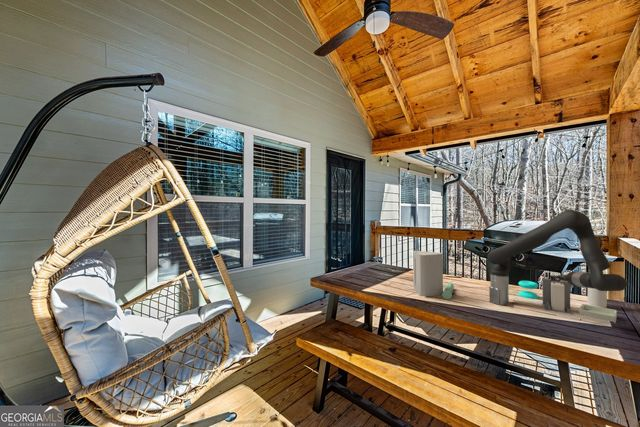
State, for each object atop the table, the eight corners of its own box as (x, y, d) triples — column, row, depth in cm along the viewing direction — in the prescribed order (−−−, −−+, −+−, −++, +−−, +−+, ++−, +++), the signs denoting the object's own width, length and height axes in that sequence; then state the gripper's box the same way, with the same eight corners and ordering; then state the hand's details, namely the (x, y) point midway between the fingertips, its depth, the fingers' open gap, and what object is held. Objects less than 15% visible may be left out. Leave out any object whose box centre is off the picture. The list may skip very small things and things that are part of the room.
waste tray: (615, 324, 131) (615, 317, 131) (578, 316, 141) (578, 309, 141) (616, 316, 140) (616, 310, 140) (582, 309, 150) (582, 303, 150)
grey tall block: (564, 311, 146) (564, 282, 146) (552, 309, 149) (552, 281, 148) (562, 307, 151) (562, 279, 150) (551, 305, 154) (550, 278, 153)
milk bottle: (609, 309, 149) (609, 274, 149) (590, 307, 153) (590, 272, 153) (603, 305, 156) (603, 271, 155) (585, 302, 160) (585, 270, 160)
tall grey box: (408, 294, 183) (407, 253, 182) (415, 288, 194) (414, 250, 194) (437, 299, 171) (437, 256, 170) (443, 293, 183) (442, 252, 182)
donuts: (515, 279, 177) (532, 280, 175) (515, 294, 177) (532, 295, 175) (523, 284, 167) (541, 284, 165) (523, 299, 167) (541, 300, 165)
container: (447, 280, 194) (444, 288, 173) (456, 284, 191) (453, 293, 170) (444, 287, 195) (440, 296, 174) (452, 291, 193) (449, 301, 171)
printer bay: (574, 316, 141) (574, 286, 141) (545, 311, 148) (544, 283, 148) (569, 309, 151) (569, 281, 151) (542, 304, 158) (542, 278, 158)
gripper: (596, 271, 129) (573, 269, 144) (562, 272, 132) (543, 270, 148) (600, 286, 128) (576, 283, 143) (565, 287, 131) (546, 284, 146)
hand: (560, 277), depth 145 cm, fingers open, 8 cm apart
